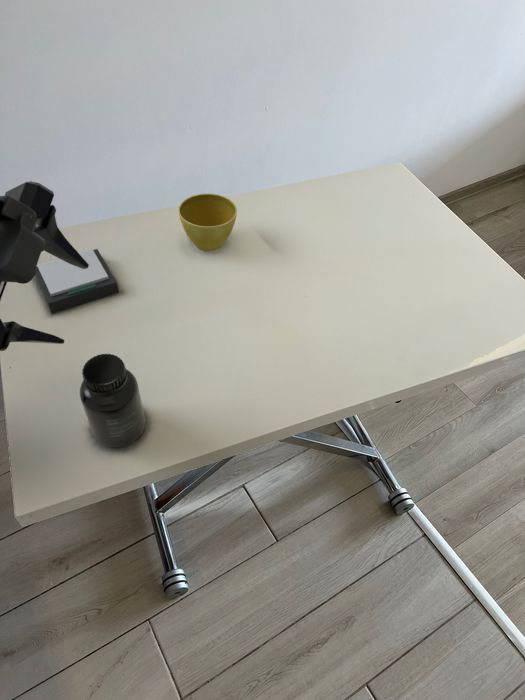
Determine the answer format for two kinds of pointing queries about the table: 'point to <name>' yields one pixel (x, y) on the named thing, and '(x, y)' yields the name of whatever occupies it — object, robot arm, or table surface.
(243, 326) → the table surface
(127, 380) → the supplement bottle
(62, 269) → the kitchen scale
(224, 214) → the flower pot
